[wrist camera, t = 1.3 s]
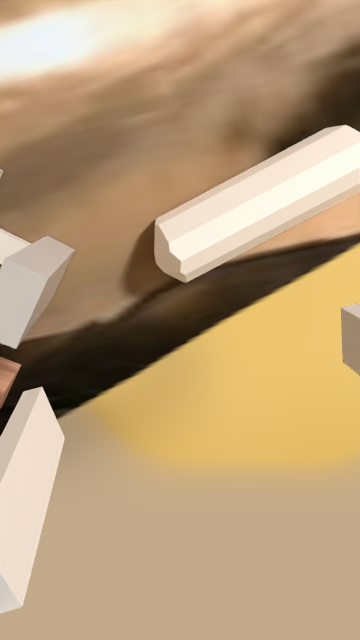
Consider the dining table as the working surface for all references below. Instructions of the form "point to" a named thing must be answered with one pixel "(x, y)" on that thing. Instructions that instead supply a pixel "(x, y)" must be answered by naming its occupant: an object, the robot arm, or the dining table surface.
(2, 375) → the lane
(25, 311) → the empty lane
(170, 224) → the crystal
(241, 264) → the dining table surface
